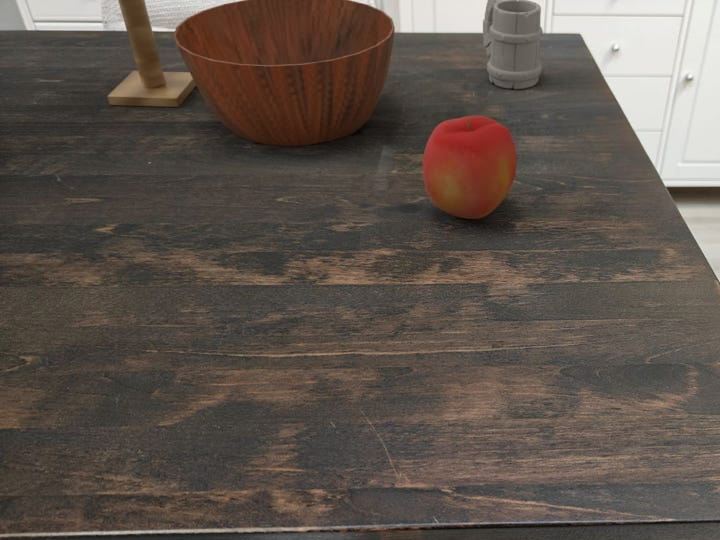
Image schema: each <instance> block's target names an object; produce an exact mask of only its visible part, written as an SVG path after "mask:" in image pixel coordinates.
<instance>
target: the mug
mask: <svg viewBox="0 0 720 540" xmlns="http://www.w3.org/2000/svg"><path fill="white" fill-rule="evenodd" d="M541 14H542V8H541V5H540V4H539V3H537V2H534V1H531V0H487V2H486V6H485V11H484V19H482V39H483V40H482V41H483V47H484V48H485V52H486V56H487V58H489V60H488V62H487V63H486V72H487V73H488V81H489V82H490V83H491V84H494V85H495V86H497V87H498V88H504V89H508V90H509V89H513V90H523V89H528V88H532V87H534V86H536V85H537V83H538V82H539V79H540V77H539V76H540V75H541V74H542V70H543V66H542V63H541V61H540V49H541V48H540V46H541V38H542V36H543V33H544V31H543V27H541V17H542V16H541Z"/></svg>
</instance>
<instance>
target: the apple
mask: <svg viewBox="0 0 720 540" xmlns="http://www.w3.org/2000/svg"><path fill="white" fill-rule="evenodd" d="M517 161H518V159H517V150H516V146H515V142H514V138H513V135H512V134H511V132H510V130H509V129H508V128H507V127H506V126H504V125H503V124H501V123H499V122H497V121H496V120H494V119H493V118H491V117H487V116H483V115H469V116H462V117H459V118H453V119H447V120H444V121H442V122H441V123H439V124H438V125H437V126H435V128H434V129H433V131H432V133H430V136H429V138H428V140H427V142H426V145H425V149H424V154H423V159H422V178H423V184H424V187H425V190H426V194H427V195H428V197H429V199H430V200H431V202H432V203H433V204H434V205H435V207H437V208H438V209H440V210H441V211H442V212H444V213H446V214H448V215H451V216H453V217H457V218H461V219H467V220H479V219H482V218H485V217H486V216H488V215H489V214H491V213H492V212H493V211H495V210H496V209H497V208H498V206H500V204H501V203H502V202H503V201H504V199H506V197H507V195H508V194H509V192H510V190H511V189H512V186H513V184H514V181H515V177H516V173H517V166H518V165H517V164H518V162H517Z"/></svg>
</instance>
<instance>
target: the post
mask: <svg viewBox="0 0 720 540" xmlns="http://www.w3.org/2000/svg"><path fill="white" fill-rule="evenodd" d="M117 2H118V5H119V8H120V11H121V12H120V13H121V15H122V19H123V22H124V26H125V29H126V33H127V36H128V41H129V44H130V48H131V50H132V55H133V58H134V62H135V65H136V69H137V70H132V71H131V72H130V74H128V75H127V76H126V78H124V79H123V80H122V81H121V82H120V83H119V84H118V85H117V86H116V87H115V88H114V89H113V90H112V91H111V92H110V93H109V94H108V95H107V101H108V103H109V106H127V107H128V106H129V107H130V106H131V107H132V106H134V107H136V106H137V107H162V108H163V107H164V108H166V107H167V108H180V106H181V105H182V104H183V102H185V100H186V99H187V98H188V97H189V95H191V93H192V92H193V90H194V89H195V88H196V87H197V86H196V84H195V82H194V80H193V78H192V76H191V74H190V72H189V71H164V70H163V65H162V62H161V59H160V54H159V50H158V47H157V41H156V39H155V36H154V32H153V31H154V30H153V28H152V24H151V20H150V16H149V12H148V8H147V5H146V1H145V0H117Z"/></svg>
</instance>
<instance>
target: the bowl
mask: <svg viewBox="0 0 720 540" xmlns="http://www.w3.org/2000/svg"><path fill="white" fill-rule="evenodd" d="M395 28H396V27H395V23H394V20H393V18H392V17H390V15H388V13H386V12H385V11H384V10H381V9H380V8H377V7H374V6H373V5H370V4H367V3H363V2H359V1H355V0H237V1H232V2H228V3H223V4H220V5H217V6H213V7H210V8H206V9H203V10H201V11H199V12H197V13H195V14H193V15H191V16H189V17H187V18H185V19H184V20H183V21H182V22H180V23H179V24H177V26H176V27H175V30H174V33H173V35H172V36H173V40H174V42H175V45H176V46H177V49H178V51H179V53H180V55H181V58H182V60H183V62H184V65H185V66H186V68H187V70H188V72H190V74H191V76H192V78H193V80H194V82H195V84H196V86H195V87H196V88H197V89H198V91H199V93H200V95H201V96H202V98H203V99H204V101H205V103H206V104H207V106H208V107H209V109H210V110H211V112H212V113H213V115H214V116H215V117H216V118H217V119H218V120H219V121H220V122H221V124H222V125H224V126H225V127H226V128H227V129H228V130H230V131H231V132H232V133H234V134H235V135H237V136H238V137H239V138H242V139H245V140H247V141H250V142H252V143H258V144H262V145H267V146H280V147H294V146H296V147H297V146H311V145H316V144H321V143H328V142H331V141H334V140H337V139H338V140H339V139H341V138H344V137H348V136H350V135H351V136H352V135H353V134H354V133H356V132H357V131H358V130H359V129H361V128H362V127H363V126H364V125H365V124H366V123H367V122H368V121H369V120H370V118H371V117H372V115H373V113H374V111H375V110H376V107H377V105H378V102H379V101H380V98H381V96H382V92H383V90H384V87H385V84H386V80H387V76H388V72H389V68H390V64H391V63H390V62H391V58H392V51H393V44H394V38H395Z"/></svg>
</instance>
